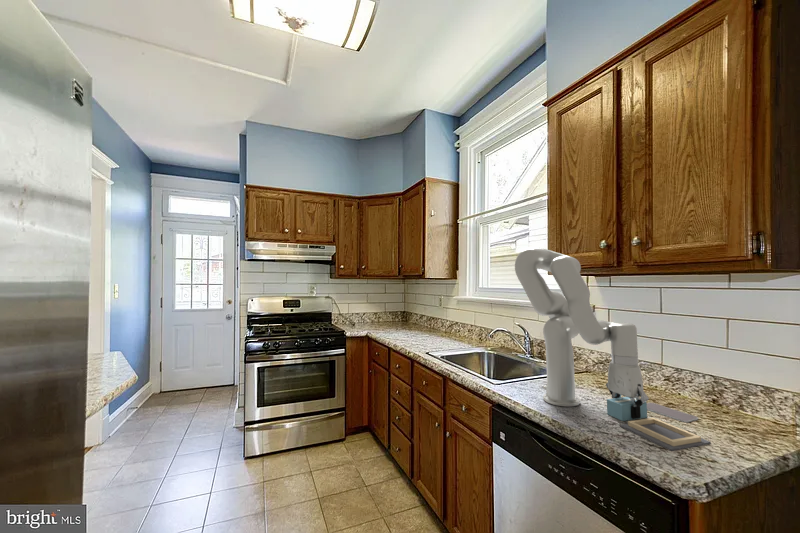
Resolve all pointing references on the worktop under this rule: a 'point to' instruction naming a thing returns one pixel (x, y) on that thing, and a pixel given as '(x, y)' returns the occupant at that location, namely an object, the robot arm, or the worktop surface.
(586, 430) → the worktop surface
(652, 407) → the smartphone
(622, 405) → the card box
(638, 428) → the mat
